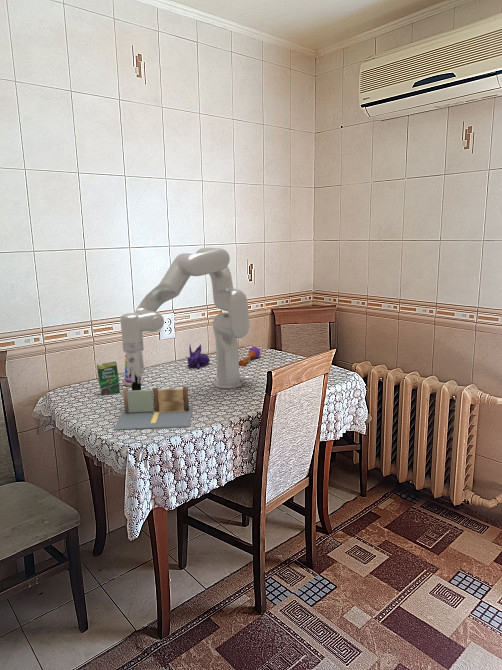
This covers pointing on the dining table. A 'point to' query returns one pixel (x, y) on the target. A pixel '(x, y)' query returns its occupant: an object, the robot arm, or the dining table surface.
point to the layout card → (153, 420)
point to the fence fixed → (171, 399)
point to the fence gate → (138, 400)
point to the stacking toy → (127, 380)
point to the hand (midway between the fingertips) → (136, 393)
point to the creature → (197, 358)
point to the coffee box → (108, 378)
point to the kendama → (250, 355)
